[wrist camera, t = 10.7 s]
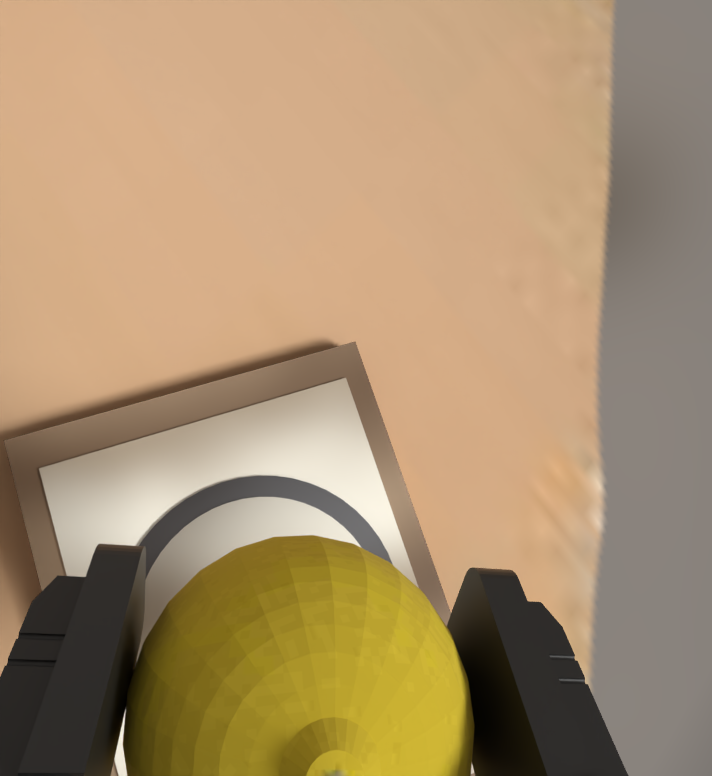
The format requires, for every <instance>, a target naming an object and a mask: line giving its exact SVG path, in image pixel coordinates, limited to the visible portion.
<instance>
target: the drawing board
mask: <svg viewBox="0 0 712 776" xmlns="http://www.w3.org/2000/svg"><path fill="white" fill-rule="evenodd" d="M4 443H5V447H6V451H7V455H8V459H9V463H10V467H11V471H12V475H13V479H14V483H15V487H16V491H17V495H18V499H19V503H20V507H21V511H22V515H23V519H24V523H25V527H26V531H27V535H28V539H29V543H30V546H31V550H32V554H33V558H34V562H35V566H36V570H37V574H38V578H39V582H40V586H41V590H42V591H43V590H44V589H45V588H46V587H47V586H48V585H49V584H50V583H51V582H52V581H53V580H54V579H55V578H56V577H57V575H58V576H77V577H86V574H87V571H88V568H89V565H90V562H91V559H92V556H93V554H94V551H95V549H96V547H97V545H98V544H114V545H131V546H145V547H146V580H145V612H144V622H143V630H142V636H141V642H140V647H139V651H138V656H137V660H138V657H139V654H140V651H141V648H142V645H143V643H144V641H145V639H146V637H147V636H148V634H149V632H150V631H151V629H152V628H153V626H154V624H155V623H156V621H157V620H158V618H159V616H160V615H161V613H162V612H163V610H164V608H165V607H166V605H167V604H168V602H169V601H170V600H171V599H172V598H173V597H174V596H175V595H176V594H177V593H178V592H179V591H180V590H181V589H182V588H183V587H184V586H185V585H186V584H187V583H188V582H189V581H190V580H191V579H192V578H193V577H194V576H195V575H196V574H197V573H198V572H199V571H200V570H202V569H203V568H205V567H207V566H208V565H210V564H211V563H213V562H215V561H216V560H218V559H220V558H221V557H223V556H225V555H226V554H228V553H229V552H231V551H233V550H234V549H236V548H239V547H243V546H246V545H249V544H252V543H256V542H259V541H262V540H265V539H269V538H272V537H280V536H302V535H315V536H320V537H325V538H329V539H334V540H339V541H344V542H348V543H352V544H355V545H357V546H359V547H361V548H363V549H365V550H367V551H369V552H371V553H373V554H374V555H376V556H378V557H380V558H382V559H384V560H386V561H388V562H390V563H391V564H392V565H393V566H394V567H396V568H397V569H398V570H399V571H400V572H401V573H402V574H403V575H405V576H406V577H407V578H408V579H409V580H410V581H411V582H412V583H413V584H415V585H416V586H417V587H418V588H419V589H420V590H421V591H422V592H423V593H424V594H425V596H426V597H427V599H428V600H429V601H430V603H431V604H432V606H433V607H434V609H435V610H436V612H437V613H438V615H439V616H440V618H441V619H442V621H443V622H444V623H445V625H446V626H447V624H448V621H449V618H450V615H451V612H450V609H449V606H448V604H447V601H446V598H445V595H444V592H443V589H442V587H441V584H440V581H439V578H438V575H437V572H436V570H435V567H434V564H433V561H432V558H431V555H430V552H429V550H428V547H427V544H426V541H425V538H424V535H423V533H422V530H421V527H420V524H419V521H418V518H417V516H416V513H415V510H414V507H413V504H412V501H411V499H410V496H409V493H408V490H407V487H406V484H405V482H404V479H403V476H402V473H401V470H400V467H399V464H398V462H397V459H396V456H395V453H394V450H393V447H392V445H391V442H390V439H389V436H388V433H387V430H386V428H385V425H384V422H383V419H382V416H381V413H380V411H379V408H378V405H377V402H376V399H375V396H374V393H373V391H372V388H371V385H370V382H369V379H368V376H367V374H366V371H365V368H364V365H363V362H362V359H361V357H360V354H359V351H358V348H357V345H356V342H352V343H349V344H345V345H341V346H338V347H334V348H331V349H327V350H324V351H320V352H317V353H313V354H309V355H306V356H302V357H299V358H295V359H292V360H288V361H285V362H281V363H277V364H274V365H270V366H267V367H263V368H260V369H256V370H253V371H249V372H245V373H242V374H238V375H235V376H231V377H228V378H224V379H221V380H217V381H213V382H210V383H206V384H203V385H199V386H196V387H192V388H189V389H185V390H181V391H178V392H174V393H171V394H167V395H164V396H160V397H157V398H153V399H149V400H146V401H142V402H139V403H135V404H132V405H128V406H125V407H121V408H117V409H114V410H110V411H107V412H103V413H100V414H96V415H93V416H89V417H85V418H82V419H78V420H75V421H71V422H68V423H64V424H61V425H57V426H53V427H50V428H46V429H43V430H39V431H36V432H32V433H29V434H25V435H21V436H18V437H14V438H11V439H7V440H4ZM137 660H136V663H137ZM135 666H136V665H135ZM125 713H126V709H125ZM124 724H125V714H124V718H123V723H122V727H121V732H120V736H119V741H118V745H117V749H116V754H115V758H114V763H113V767H112V772H111V776H127V771H126V764H125V757H124V751H123V734H124ZM471 776H475V773H474V769H473V765H472V766H471Z"/></svg>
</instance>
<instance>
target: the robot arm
mask: <svg viewBox="0 0 712 776" xmlns="http://www.w3.org/2000/svg"><path fill="white" fill-rule="evenodd" d="M145 580H146V547H145V546H131V545H114V544H98V545H97V547H96V549H95V551H94V554H93V556H92V559H91V562H90V565H89V568H88V571H87V574H86V577H77V576H58V575H57V577H56V578H55V579H54V580H53V581H52V582H51V583H50V584H49V585H48V586H47V587H46V588H45V589H44V590H43V591H42V592H41V593H40V594H39V595H38V596H37V597H36V598H35V599H34V600H33V601H32V603H31V605H30V608H29V610H28V612H27V615H26V617H25V620H24V622H23V624H22V627H21V629H20V632H19V637H18V639H16V641H15V643H14V646H13V648H12V651H11V653H10V655H9V658H8V663H7V666H5V667H4V670H3V672H2V674H1V677H0V776H111V772H112V767H113V763H114V758H115V754H116V749H117V745H118V741H119V736H120V732H121V727H122V723H123V718H124V714H125V709H126V702H127V692H128V688H129V684H130V681H131V678H132V675H133V672H134V669H135V665H136V660H137V656H138V651H139V647H140V642H141V636H142V630H143V622H144V612H145ZM447 628H448V629H449V631H450V633H451V635H452V638H453V640H454V643H455V645H456V648H457V651H458V653H459V656H460V659H461V661H462V664H463V667H464V669H465V672H466V675H467V678H468V682H469V689H470V696H471V704H472V711H473V718H474V726H475V727H474V740H473V753H472V765H473V769H474V773H475V776H628V774H627V772H626V770H625V768H624V766H623V764H622V761H621V759H620V757H619V754H618V752H617V750H616V747H615V745H614V743H613V741H612V738H611V736H610V734H609V732H608V729H607V727H606V725H605V722H604V720H603V718H602V716H601V713H600V711H599V709H598V707H597V704H596V702H595V700H594V698H593V695H592V693H591V691H590V689H589V686H588V684H585V677H584V675H583V673H582V670H581V668H580V666H579V664H578V661H575V659H574V656H575V655H574V652H573V650H572V648H571V645H570V643H569V641H568V639H567V636H566V634H565V632H564V630H563V627H562V626H561V625H560V624H559V623H558V621H557V620H556V619H555V618H554V617H553V616H552V615H551V613H550V612H549V611H548V610H547V609H546V608H545V606H544V605H543V604H542V603H541V602H528V601H527V599H526V596H525V594H524V591H523V589H522V586H521V584H520V581H519V579H518V577H517V575H516V574H515V573H514V572H513V571H512V570H502V569H486V568H470V569H469V570H468V571H467V573H466V575H465V578H464V581H463V583H462V586H461V589H460V591H459V594H458V597H457V599H456V602H455V605H454V607H453V610H452V613H451V615H450V618H449V621H448V624H447Z"/></svg>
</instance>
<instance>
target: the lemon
mask: <svg viewBox="0 0 712 776" xmlns="http://www.w3.org/2000/svg"><path fill="white" fill-rule="evenodd" d="M474 727H475V726H474V718H473V711H472V704H471V696H470V689H469V682H468V678H467V675H466V672H465V669H464V667H463V664H462V661H461V659H460V656H459V653H458V651H457V648H456V645H455V643H454V640H453V638H452V635H451V633H450V631H449V629H448V628H447V626H446V625H445V623H444V622H443V621H442V619H441V618H440V616H439V615H438V613H437V612H436V610H435V609H434V607H433V606H432V604H431V603H430V601H429V600H428V599H427V597H426V596H425V594H424V593H423V592H422V591H421V590H420V589H419V588H418V587H417V586H416V585H415V584H413V583H412V582H411V581H410V580H409V579H408V578H407V577H406V576H405V575H403V574H402V573H401V572H400V571H399V570H398V569H397V568H396V567H394V566H393V565H392V564H391V563H390V562H388V561H386V560H384V559H382V558H380V557H378V556H376V555H374V554H373V553H371V552H369V551H367V550H365V549H363V548H361V547H359V546H357V545H355V544H352V543H348V542H344V541H339V540H334V539H329V538H325V537H320V536H315V535H302V536H280V537H272V538H269V539H265V540H262V541H259V542H256V543H252V544H249V545H246V546H243V547H239V548H236V549H234V550H233V551H231V552H229V553H228V554H226V555H225V556H223V557H221V558H220V559H218V560H216V561H215V562H213V563H211V564H210V565H208V566H207V567H205V568H203V569H202V570H200V571H199V572H198V573H197V574H196V575H195V576H194V577H193V578H192V579H191V580H190V581H189V582H188V583H187V584H186V585H185V586H184V587H183V588H182V589H181V590H180V591H179V592H178V593H177V594H176V595H175V596H174V597H173V598H172V599H171V600H170V601H169V602H168V604H167V605H166V607H165V608H164V610H163V612H162V613H161V615H160V616H159V618H158V620H157V621H156V623H155V624H154V626H153V628H152V629H151V631H150V632H149V634H148V636H147V637H146V639H145V641H144V643H143V645H142V648H141V651H140V654H139V657H138V660H137V663H136V666H135V669H134V672H133V675H132V678H131V681H130V684H129V688H128V692H127V702H126V713H125V724H124V734H123V751H124V757H125V764H126V771H127V776H471V766H472V753H473V740H474Z"/></svg>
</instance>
